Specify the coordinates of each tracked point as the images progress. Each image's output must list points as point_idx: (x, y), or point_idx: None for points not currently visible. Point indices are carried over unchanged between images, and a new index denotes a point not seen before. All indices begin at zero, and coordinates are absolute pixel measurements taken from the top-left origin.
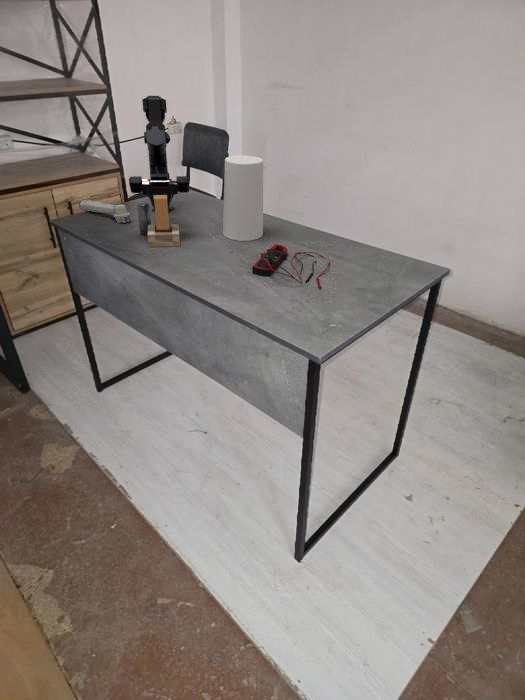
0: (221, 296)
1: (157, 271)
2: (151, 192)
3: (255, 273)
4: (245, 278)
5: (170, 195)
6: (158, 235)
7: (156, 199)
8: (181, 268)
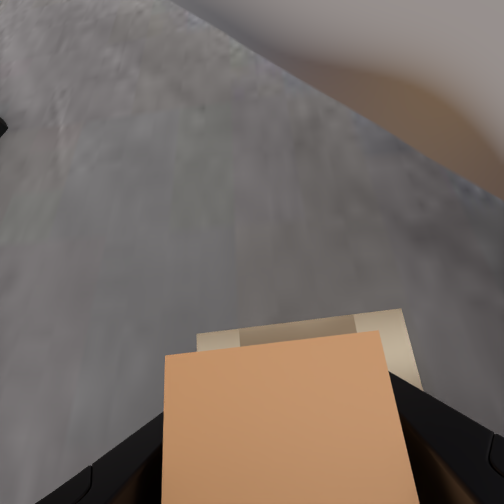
0: (122, 12)
1: (295, 96)
2: (502, 494)
3: (1, 119)
4: (39, 96)
5: (87, 474)
6: (327, 319)
7: (338, 338)
8: (213, 126)
